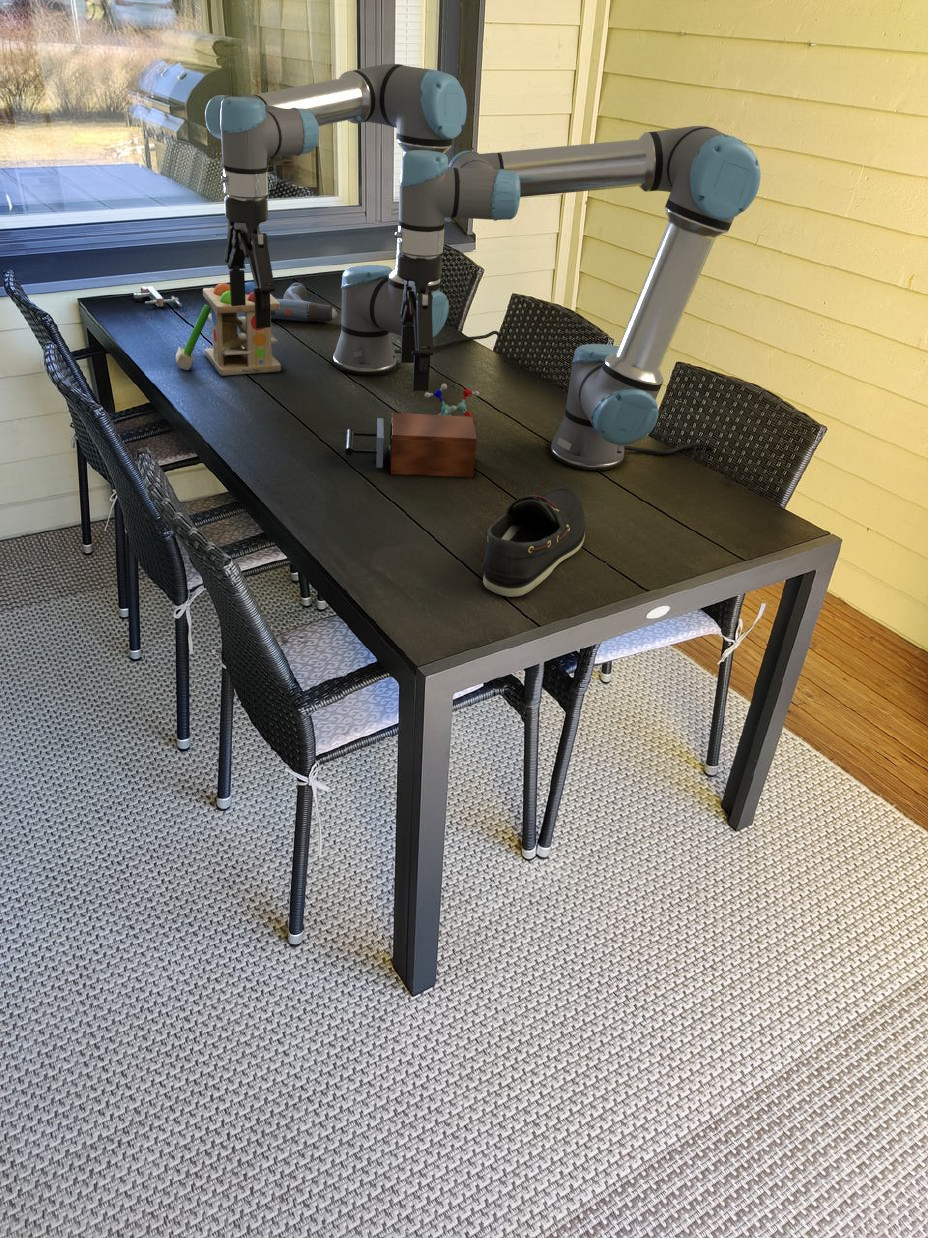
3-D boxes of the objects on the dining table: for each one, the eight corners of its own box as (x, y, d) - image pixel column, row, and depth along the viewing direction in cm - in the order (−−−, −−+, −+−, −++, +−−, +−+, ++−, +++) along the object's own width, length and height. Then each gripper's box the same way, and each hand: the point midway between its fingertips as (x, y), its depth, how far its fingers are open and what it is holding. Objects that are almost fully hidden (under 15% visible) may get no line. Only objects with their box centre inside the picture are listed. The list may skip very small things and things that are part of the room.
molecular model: (472, 422, 205) (456, 376, 203) (432, 437, 208) (416, 391, 207) (488, 419, 215) (474, 375, 214) (450, 433, 219) (435, 390, 218)
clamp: (129, 286, 265) (166, 284, 270) (130, 295, 267) (167, 292, 271) (144, 303, 255) (182, 300, 259) (145, 312, 256) (183, 309, 261)
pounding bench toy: (183, 379, 220) (176, 299, 210) (169, 357, 231) (162, 280, 221) (282, 371, 230) (280, 294, 220) (264, 350, 240) (262, 276, 230)
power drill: (344, 304, 276) (335, 327, 259) (277, 298, 275) (264, 321, 258) (344, 285, 273) (335, 306, 256) (277, 279, 272) (264, 300, 255)
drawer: (344, 466, 189) (345, 435, 186) (345, 445, 197) (346, 416, 194) (452, 470, 192) (455, 440, 188) (449, 450, 199) (452, 421, 196)
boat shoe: (609, 530, 179) (617, 478, 174) (520, 603, 155) (525, 545, 150) (547, 511, 185) (553, 460, 179) (452, 578, 161) (455, 522, 155)
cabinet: (390, 473, 190) (392, 434, 186) (390, 450, 199) (391, 412, 194) (473, 477, 192) (476, 438, 187) (468, 454, 201) (472, 416, 196)
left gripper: (203, 181, 181) (210, 297, 192) (249, 213, 163) (254, 338, 175) (242, 180, 184) (247, 295, 196) (292, 211, 167) (293, 335, 178)
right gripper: (387, 233, 173) (383, 351, 185) (409, 273, 153) (403, 402, 165) (429, 235, 174) (423, 351, 186) (456, 274, 154) (447, 402, 166)
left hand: (250, 316), depth 185 cm, fingers open, 13 cm apart
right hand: (414, 375), depth 176 cm, fingers open, 13 cm apart
